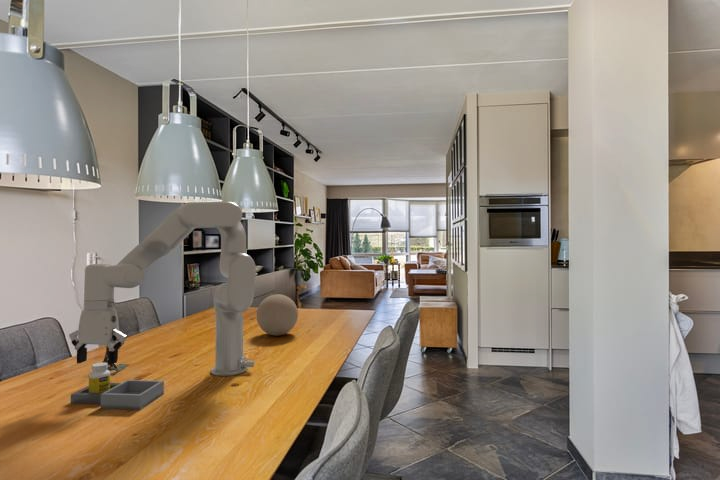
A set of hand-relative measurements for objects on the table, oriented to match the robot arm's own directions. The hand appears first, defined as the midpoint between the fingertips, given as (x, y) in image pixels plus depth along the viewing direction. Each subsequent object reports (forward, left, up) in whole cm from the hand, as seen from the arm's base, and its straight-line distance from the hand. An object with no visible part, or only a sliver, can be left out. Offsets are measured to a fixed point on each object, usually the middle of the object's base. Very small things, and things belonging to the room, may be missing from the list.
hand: (97, 362), depth 122 cm
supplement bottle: (0, 0, -11) cm, 11 cm away
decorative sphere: (-31, -82, -11) cm, 89 cm away
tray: (-12, +2, -10) cm, 16 cm away
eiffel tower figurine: (+15, -25, -11) cm, 31 cm away
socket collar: (0, 0, -10) cm, 10 cm away
